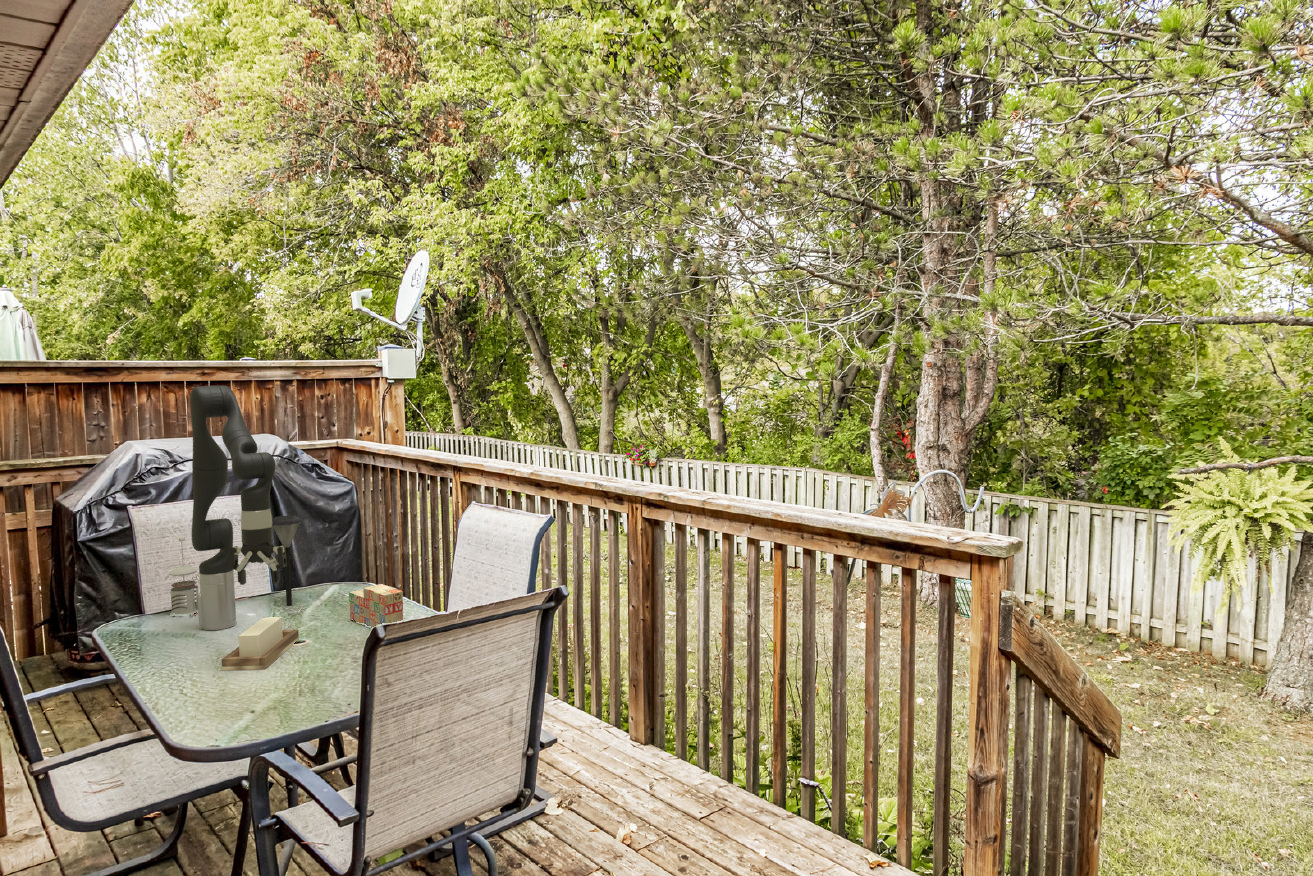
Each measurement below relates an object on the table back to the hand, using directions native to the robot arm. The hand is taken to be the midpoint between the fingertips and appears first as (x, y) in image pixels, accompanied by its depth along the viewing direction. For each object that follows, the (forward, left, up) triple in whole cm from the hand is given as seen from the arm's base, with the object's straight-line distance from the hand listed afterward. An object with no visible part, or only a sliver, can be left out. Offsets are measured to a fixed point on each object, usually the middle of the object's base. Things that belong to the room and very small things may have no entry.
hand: (259, 583), depth 216 cm
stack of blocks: (+24, +24, -20) cm, 39 cm away
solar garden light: (-11, +48, -20) cm, 53 cm away
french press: (-41, +42, -20) cm, 62 cm away
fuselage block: (0, 0, -19) cm, 19 cm away
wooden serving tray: (0, 0, -20) cm, 20 cm away
